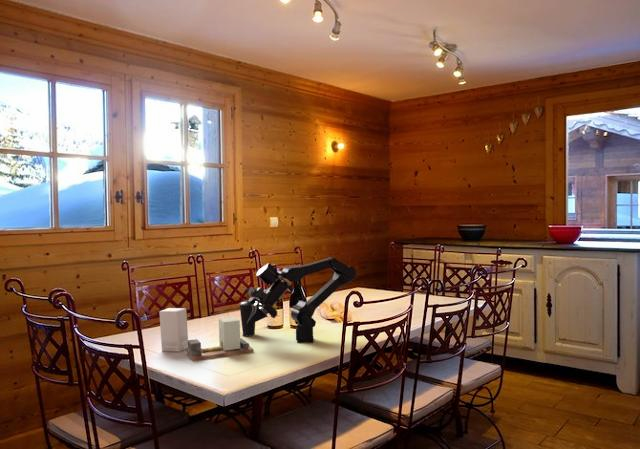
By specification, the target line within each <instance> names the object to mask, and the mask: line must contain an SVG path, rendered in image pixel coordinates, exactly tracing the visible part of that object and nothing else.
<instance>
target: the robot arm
mask: <svg viewBox="0 0 640 449" xmlns="http://www.w3.org/2000/svg"><path fill="white" fill-rule="evenodd" d="M328 269H330V270H332V271H333V272H334V273H333V275H332V277H331V279H330V280H329V281H327V283H325V284H324V285H323V286H322V287H320V289H318V291H317V292H316V293H314V294H313V295H312V296H311V297H310V298H309V299H308V300H306V301H303V300H299V301H298V302H297V303H296V304H295V305H293V306H292V309H291V311H290V317H291V319H292V320H293V321H294V323H295V325H297V326H296V328H295V340H296V343H299V344H300V343H301V344H302V343H314V341H315V340H314V327H315V326H316V323H317V321H316V320H315V319H314V318H313V316H314V314H315V312H316V310H317V308H318V307H319V306H321V305H322V304H323V303H324V302H325V301H326V300H327V299H328V298H330V296H332V295H333V294H334V293H335V292H337V290H338V289H339V288H340V287H342V286H344V285H346V284H348V283H351V282H352V281H353V280H355V279H356V277H357V271H356V268H355V267H354V266H350V265H347V264H345V263H343V262H341V261H339V260H338V259H337V258H336V257H331V256H329V257H327V258H323V259H320V260H317V261H314V262H309V263H306V264H304V265H303V264H302V265H289V266H284V267H283V268H282V269H280V270H276V268H274V266H273V265H272V264H271V263H270V262H267V263H266V264H264V265H263V266H262V267H261V268H259V269H258V270H257V272H256V277H257V278H259V279H260V281H261V282H263V283H264V284H265V285H266V286H269V285H270V286H269V288H268V289H264V288H262V287H257V288H255V287H252V286H250V287H249V288H248V289H249V292H248V295H249V296H250V298H249V300H248V302H250V303H251V304H252V312H251V315H250V317H249V319H248V321H247V324H248V325H250V324H252V323H254V322H255V323H256V322H258V321H260V320H262V319H265V318H268V317H269V316H270V317H271V318H273V319H275V318H276V317H277V316H278V311H277V309H276V308H275V307H274V306H275V305H276V303H280V301H281V300H280V299H281V298H282V296H284V294H285V293H286V292H287V291H288V292H290V293H293V291H294V290H293V284H289V283H288V282H290V283H297V282H298V281H300V280H302V279H303V278H304V277H307V276H308V275H311V274H314V273H315V274H316V273H319V272H322V271H326V270H328ZM268 315H269V316H268Z"/></svg>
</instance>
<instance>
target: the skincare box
mask: <svg viewBox="0 0 640 449" xmlns="http://www.w3.org/2000/svg"><path fill="white" fill-rule="evenodd" d="M158 313H159V324H160V325H159V326H160V328H159V329H160V339H161V340H160V341H161V351H162V352H176V353H180V352H182V351H184V350H186V349H187V350H188V340H189V335H188V334H189V332H188V316H187V308H185V307H183V308H182V307H168V308H165V309H162V310H159V311H158Z"/></svg>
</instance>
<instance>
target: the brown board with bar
mask: <svg viewBox="0 0 640 449" xmlns="http://www.w3.org/2000/svg"><path fill="white" fill-rule="evenodd" d="M249 353H254V348H253V347H251V345H250V343H249V342H247V341H246V340H244V339H243V338H242V337H240V349H233V350H226V351H224V350H223V347H220V345H219V346H215V347H214V346H213V347H207V348H206V347H205V348H203V347H202V342H200V340H198V339H197V338H195V339H188V348H187V351H186V354H187V356H188V358H190V359H191V361H192V362H195V361H203V360H208V359H217V358H222V357H229V356H235V355H243V354H249Z"/></svg>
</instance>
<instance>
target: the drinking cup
mask: <svg viewBox="0 0 640 449" xmlns="http://www.w3.org/2000/svg"><path fill="white" fill-rule="evenodd" d="M249 289H250V288H249V287H246V299H244V300H243V301H241V302H239V303H238V305H239V312H240V322H241V329H242V336H243V337H254V336H255V333H256V332H255V331H256V322H254V323H252V324H250V325H248V324H247V321H248V319H249V317H250V315H251V312H252V304H251V303H250V302H248V300H249V299H250V298H249V296H250V295H248V292H249Z"/></svg>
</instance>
